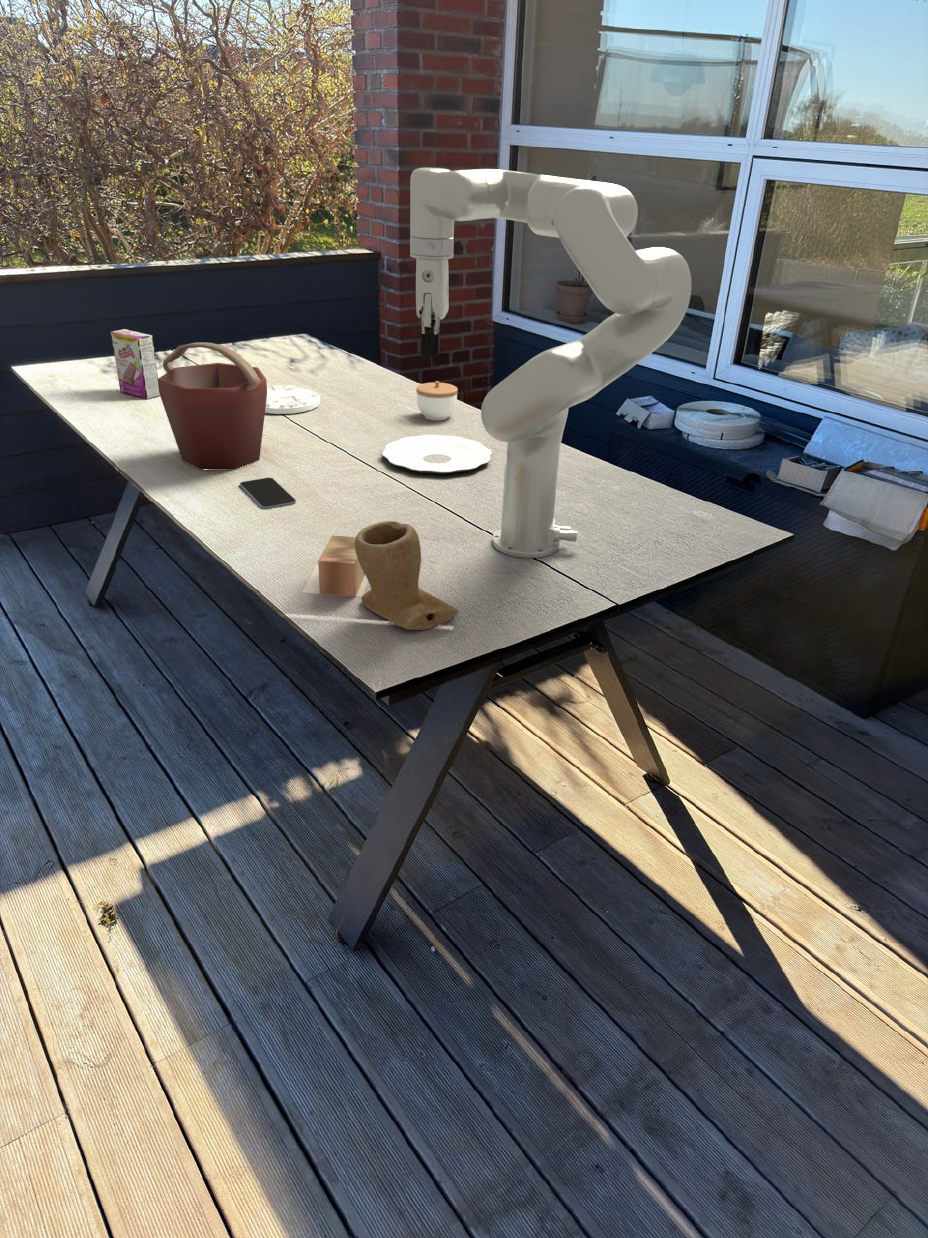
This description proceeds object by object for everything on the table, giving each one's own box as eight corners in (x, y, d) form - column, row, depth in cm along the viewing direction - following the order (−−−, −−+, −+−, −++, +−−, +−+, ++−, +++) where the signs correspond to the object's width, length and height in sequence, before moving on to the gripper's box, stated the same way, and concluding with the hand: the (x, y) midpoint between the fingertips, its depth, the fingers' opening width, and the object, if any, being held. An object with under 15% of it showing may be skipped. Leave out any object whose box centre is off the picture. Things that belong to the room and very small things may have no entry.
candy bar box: (119, 392, 244) (109, 331, 236) (133, 389, 248) (124, 328, 239) (146, 400, 239) (137, 337, 231) (161, 396, 242) (153, 334, 234)
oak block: (366, 537, 152) (354, 563, 143) (367, 569, 154) (355, 596, 146) (331, 535, 152) (318, 560, 143) (333, 566, 155) (319, 593, 146)
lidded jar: (439, 425, 228) (440, 389, 223) (407, 417, 233) (407, 381, 229) (464, 416, 235) (466, 381, 231) (433, 408, 241) (434, 373, 236)
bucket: (151, 454, 203) (134, 341, 190) (233, 434, 217) (223, 328, 204) (212, 483, 188) (198, 364, 176) (296, 459, 203) (289, 347, 190)
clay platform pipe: (342, 608, 143) (338, 522, 136) (400, 587, 150) (400, 504, 143) (399, 647, 134) (399, 556, 126) (459, 622, 141) (462, 536, 133)
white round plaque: (313, 418, 231) (313, 407, 230) (237, 415, 231) (236, 404, 230) (325, 396, 249) (324, 386, 247) (254, 393, 248) (253, 383, 247)
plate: (426, 435, 222) (427, 428, 221) (511, 457, 209) (512, 449, 208) (360, 461, 204) (360, 453, 203) (448, 487, 191) (448, 479, 191)
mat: (384, 543, 165) (384, 541, 165) (362, 599, 146) (361, 596, 146) (331, 539, 166) (331, 537, 165) (302, 595, 147) (301, 592, 146)
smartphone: (262, 507, 177) (238, 482, 188) (262, 512, 177) (238, 486, 188) (297, 501, 180) (271, 476, 191) (298, 505, 181) (271, 480, 192)
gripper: (448, 254, 147) (446, 366, 156) (457, 243, 160) (454, 347, 169) (403, 252, 148) (403, 364, 157) (416, 241, 161) (415, 345, 170)
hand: (430, 355), depth 163 cm, fingers closed
